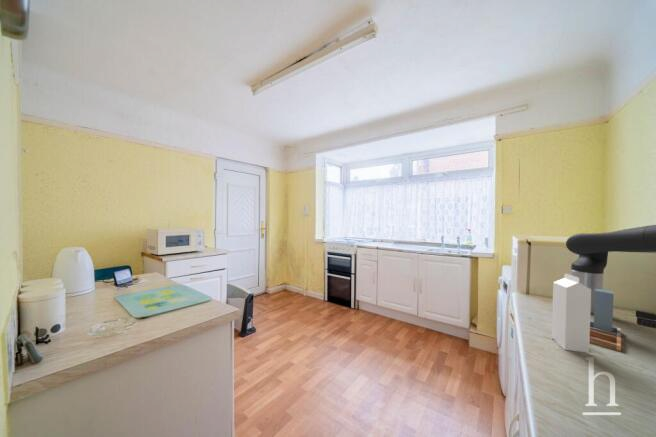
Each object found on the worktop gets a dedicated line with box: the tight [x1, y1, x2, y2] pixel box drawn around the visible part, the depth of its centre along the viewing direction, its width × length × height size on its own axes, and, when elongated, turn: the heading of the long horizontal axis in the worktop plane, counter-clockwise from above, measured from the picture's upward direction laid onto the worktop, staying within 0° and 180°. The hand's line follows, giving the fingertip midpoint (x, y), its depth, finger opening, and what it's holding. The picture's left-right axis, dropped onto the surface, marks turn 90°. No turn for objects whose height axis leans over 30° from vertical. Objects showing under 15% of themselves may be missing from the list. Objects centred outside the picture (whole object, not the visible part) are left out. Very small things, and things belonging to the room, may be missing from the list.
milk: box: [551, 273, 591, 353], centre depth 73 cm, size 6×6×22 cm
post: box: [593, 289, 615, 332], centre depth 80 cm, size 4×4×14 cm
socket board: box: [589, 320, 626, 354], centre depth 77 cm, size 19×9×2 cm, turn 129°
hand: (636, 316), depth 75 cm, fingers open, 8 cm apart
